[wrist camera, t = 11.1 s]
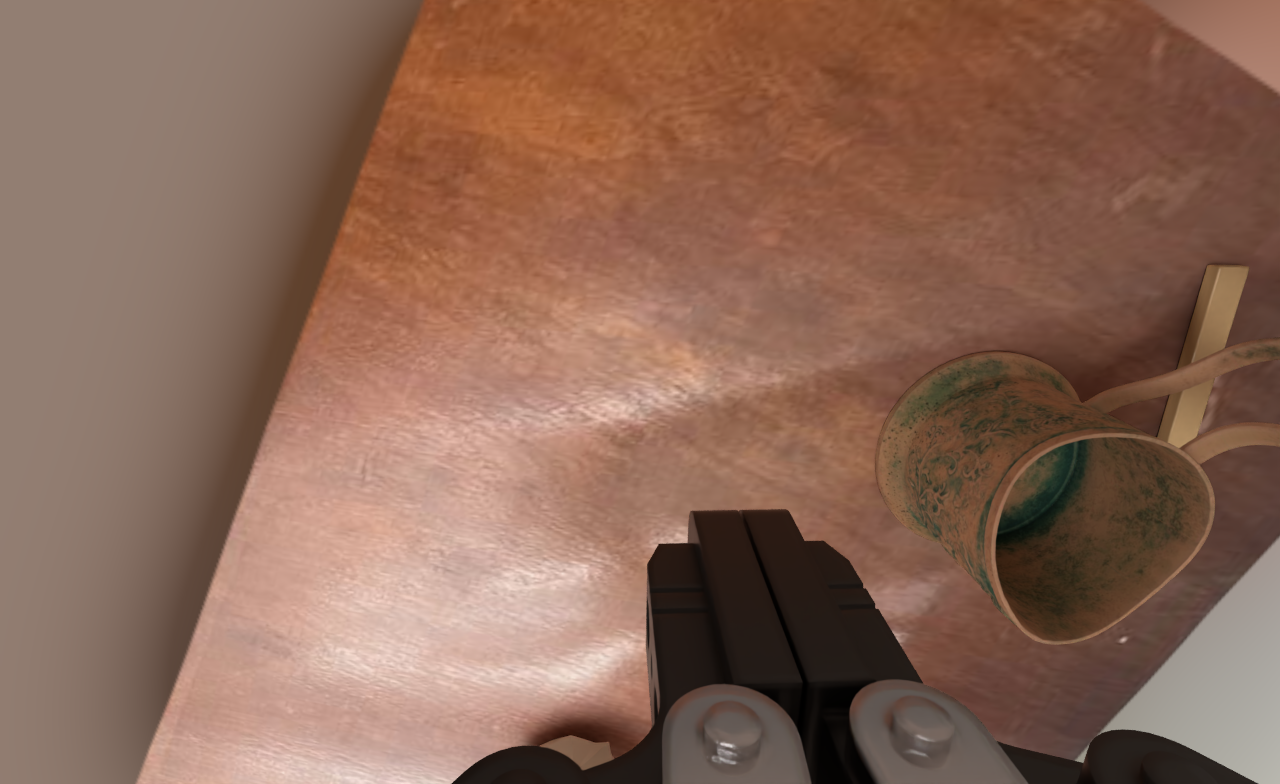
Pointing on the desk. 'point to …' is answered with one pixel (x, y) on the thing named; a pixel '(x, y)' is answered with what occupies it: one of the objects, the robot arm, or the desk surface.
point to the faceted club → (581, 750)
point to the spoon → (1203, 348)
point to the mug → (1056, 484)
